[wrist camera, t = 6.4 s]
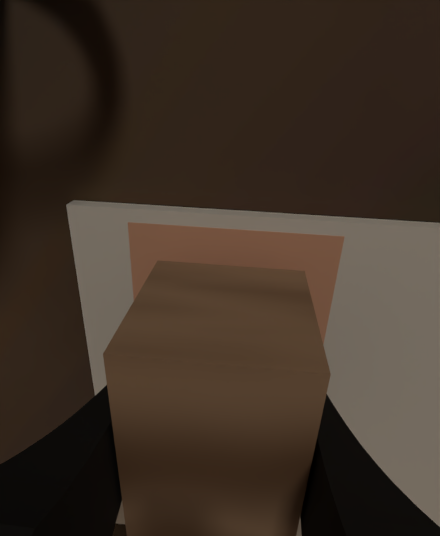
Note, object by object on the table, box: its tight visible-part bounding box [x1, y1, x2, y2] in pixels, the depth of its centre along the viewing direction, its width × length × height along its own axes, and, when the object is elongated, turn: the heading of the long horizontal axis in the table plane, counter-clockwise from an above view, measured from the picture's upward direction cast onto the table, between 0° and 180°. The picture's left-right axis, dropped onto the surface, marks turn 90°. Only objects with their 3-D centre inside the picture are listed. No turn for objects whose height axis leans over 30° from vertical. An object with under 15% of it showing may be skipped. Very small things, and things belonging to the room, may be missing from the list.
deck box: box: [103, 260, 331, 536], centre depth 12 cm, size 8×5×5 cm, turn 178°
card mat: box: [66, 200, 440, 536], centre depth 17 cm, size 20×19×1 cm
